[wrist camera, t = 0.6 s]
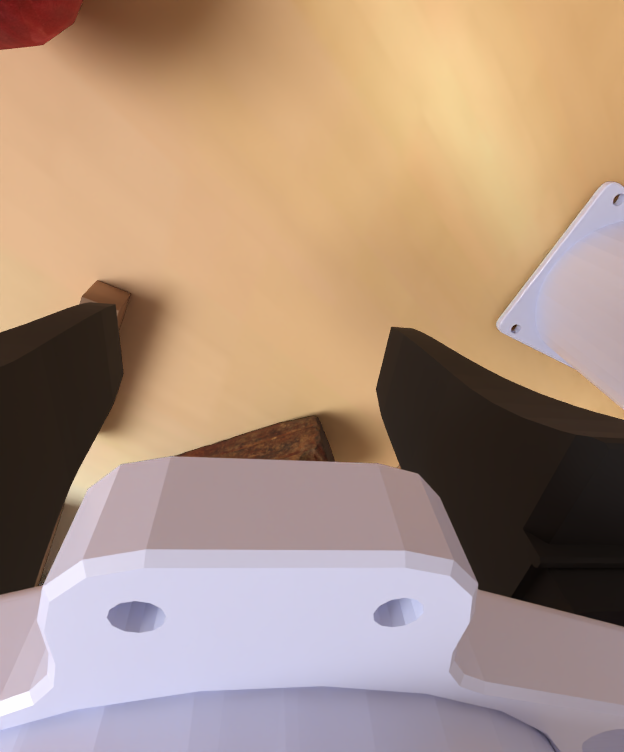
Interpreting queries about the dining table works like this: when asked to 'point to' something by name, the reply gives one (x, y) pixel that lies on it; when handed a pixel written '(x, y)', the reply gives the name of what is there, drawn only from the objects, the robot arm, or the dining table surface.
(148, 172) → the dining table surface
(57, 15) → the onion
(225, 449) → the brick
